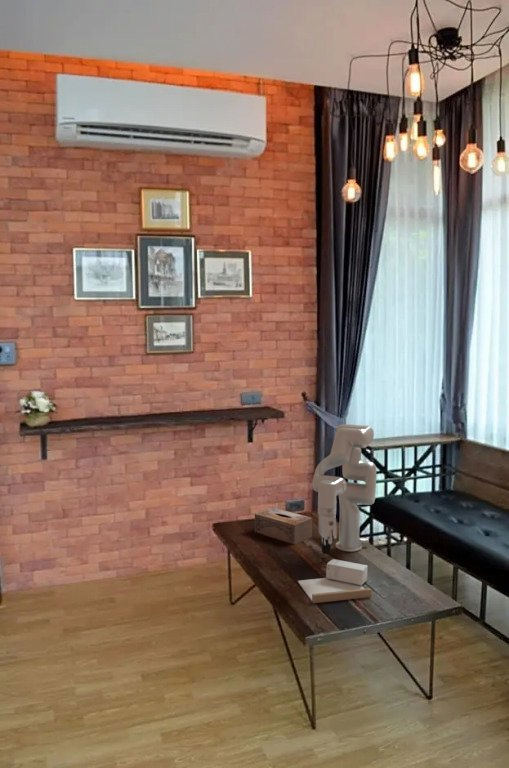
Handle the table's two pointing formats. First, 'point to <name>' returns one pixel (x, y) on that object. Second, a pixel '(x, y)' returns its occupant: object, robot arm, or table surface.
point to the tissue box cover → (283, 525)
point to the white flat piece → (332, 590)
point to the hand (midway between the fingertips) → (326, 553)
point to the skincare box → (346, 571)
